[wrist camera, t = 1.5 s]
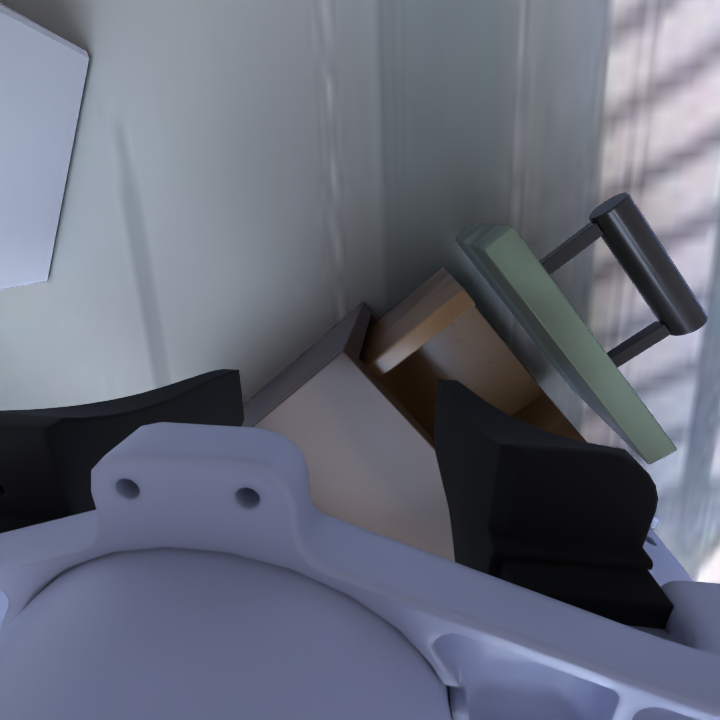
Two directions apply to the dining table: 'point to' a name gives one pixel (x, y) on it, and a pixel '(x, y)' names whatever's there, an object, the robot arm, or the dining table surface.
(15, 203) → the gable box
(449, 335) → the green-fronted drawer
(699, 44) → the dining table surface
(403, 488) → the cabinet
